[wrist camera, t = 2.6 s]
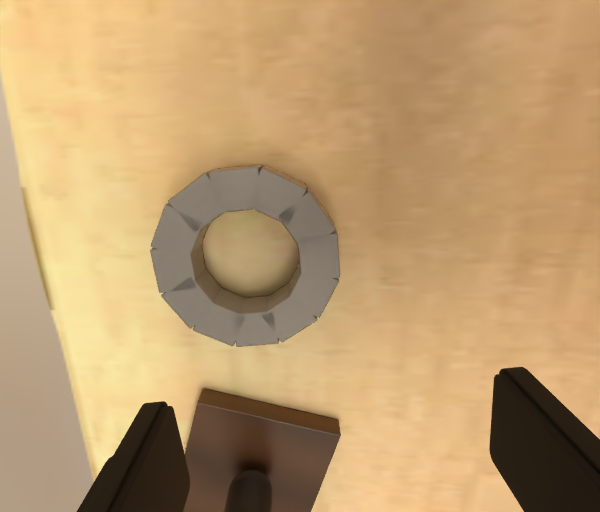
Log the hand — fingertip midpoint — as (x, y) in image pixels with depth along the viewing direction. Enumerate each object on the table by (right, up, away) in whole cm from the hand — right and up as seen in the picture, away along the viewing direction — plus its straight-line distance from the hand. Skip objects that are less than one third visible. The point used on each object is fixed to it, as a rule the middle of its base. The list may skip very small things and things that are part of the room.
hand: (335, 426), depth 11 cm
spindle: (-4, -10, +17) cm, 20 cm away
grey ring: (-4, +5, +12) cm, 14 cm away
